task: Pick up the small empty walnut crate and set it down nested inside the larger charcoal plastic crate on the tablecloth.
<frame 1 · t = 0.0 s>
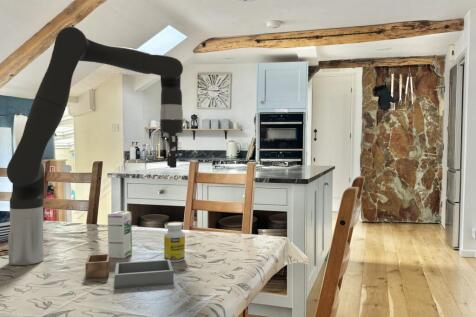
hand: (171, 166, 140), 29 cm above the table, tool pointing down, fingers open, 8 cm apart
pill bottle: (174, 260, 133), on the table
crate small: (98, 273, 118), on the table
crate big: (144, 279, 114), on the table
syrup box: (120, 256, 137), on the table
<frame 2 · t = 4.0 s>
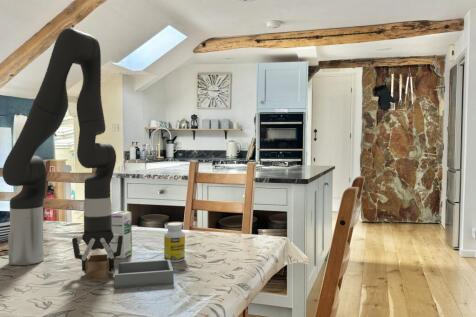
hand: (98, 271, 118), 1 cm above the table, tool pointing down, fingers closed on crate small, 6 cm apart
crate small: (98, 273, 118), on the table, touching gripper
everything else where it was.
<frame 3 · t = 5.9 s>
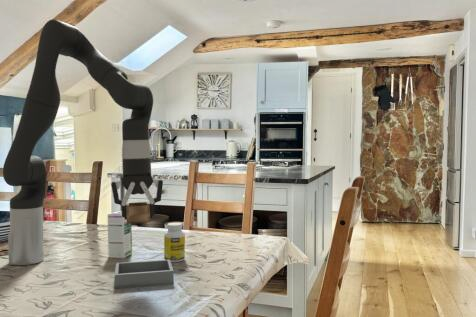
hand: (138, 218, 114), 17 cm above the table, tool pointing down, fingers closed on crate small, 6 cm apart
crate small: (138, 220, 114), point 16 cm above the table, touching gripper
everything else where it was.
when the fingers open (3 cm above the table, at t = 8.3 s): crate small drops 2 cm, resting on crate big.
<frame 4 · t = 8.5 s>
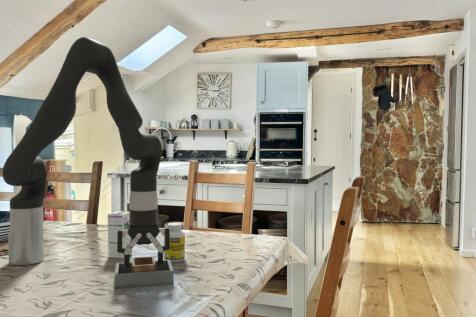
hand: (143, 266, 114), 4 cm above the table, tool pointing down, fingers open, 8 cm apart
crate small: (143, 277, 114), point 1 cm above the table, touching crate big
everything else where it was.
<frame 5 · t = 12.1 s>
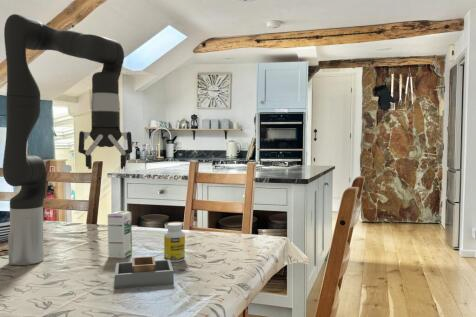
hand: (106, 168, 116), 30 cm above the table, tool pointing down, fingers open, 8 cm apart
nothing on the table moved.
at the end: crate small inside the target area on the crate big (0.1 cm from its centre), point 0.6 cm above the crate big's base; crate small tilted 0°; the gripper is holding nothing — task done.
